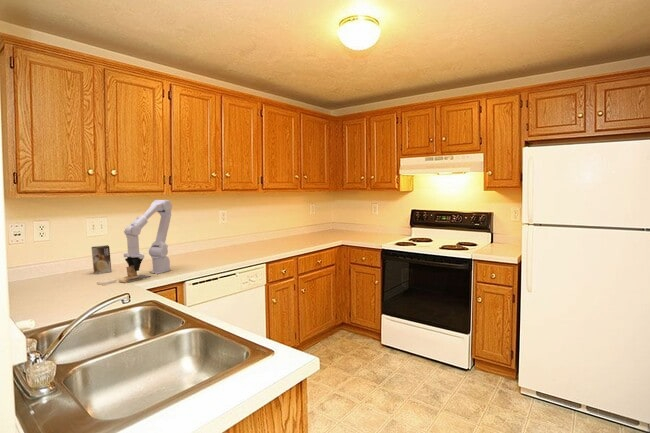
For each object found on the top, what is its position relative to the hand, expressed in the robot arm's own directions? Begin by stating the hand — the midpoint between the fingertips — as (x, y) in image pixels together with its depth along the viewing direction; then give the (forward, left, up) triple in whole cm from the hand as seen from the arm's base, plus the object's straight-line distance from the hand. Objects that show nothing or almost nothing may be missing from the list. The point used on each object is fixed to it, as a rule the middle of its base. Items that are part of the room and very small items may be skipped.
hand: (134, 270), depth 209 cm
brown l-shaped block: (+4, 0, -4) cm, 6 cm away
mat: (0, 0, -5) cm, 5 cm away
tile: (+9, -6, -4) cm, 12 cm away
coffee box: (-3, -33, -5) cm, 34 cm away
